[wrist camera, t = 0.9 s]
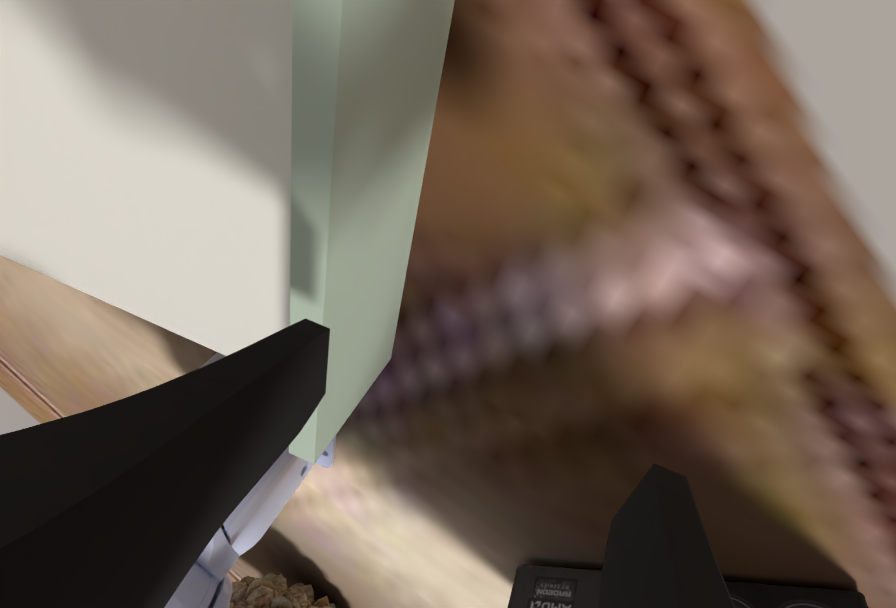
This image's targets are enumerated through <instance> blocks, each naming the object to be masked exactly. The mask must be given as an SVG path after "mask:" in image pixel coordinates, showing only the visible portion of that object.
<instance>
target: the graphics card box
mask: <svg viewBox="0 0 896 608" xmlns="http://www.w3.org/2000/svg"><path fill="white" fill-rule="evenodd" d="M601 576H602V570H596V569H587V570H585V569H579V568H578V569H572V568H562V567H549V566H540V565H529V564H523V565H519V566H518V567H517V570H516V575H515V579H514V583H513V587H512V592H511V596H510V600H509V604H508V608H599V601H600V588H601ZM724 582H725V584H726V587H727V589H728V591H729V594H730V596H731V599H732V601H733V604H734V606H735V608H868V606H867V603H866V600H865V597H864V595H863V594H862V593H860V592H849V591H844V590H832V589H822V588H803V587H790V586H776V585H765V584H759V583H752V582H728V581H724Z"/></svg>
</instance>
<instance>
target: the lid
mask: <svg viewBox="0 0 896 608" xmlns="http://www.w3.org/2000/svg"><path fill="white" fill-rule="evenodd" d="M454 2H455V0H0V255H1V256H4V257H6V258H8V259H10V260H13V261H15V262H17V263H19V264H22V265H24V266H26V267H28V268H30V269H33V270H35V271H37V272H39V273H42V274H44V275H46V276H48V277H51V278H53V279H55V280H57V281H60V282H62V283H64V284H66V285H69V286H71V287H73V288H75V289H77V290H80V291H82V292H84V293H86V294H89V295H91V296H93V297H95V298H98V299H100V300H102V301H104V302H107V303H109V304H111V305H113V306H116V307H118V308H120V309H122V310H124V311H127V312H129V313H131V314H133V315H136V316H138V317H140V318H142V319H145V320H147V321H149V322H151V323H154V324H156V325H158V326H160V327H162V328H165V329H167V330H169V331H171V332H174V333H176V334H178V335H180V336H183V337H185V338H187V339H189V340H192V341H194V342H196V343H198V344H201V345H203V346H205V347H207V348H209V349H212V350H214V351H216V352H218V353H221V354H223V355H225V356H228V355H230V354H232V353H234V352H236V351H239V350H241V349H243V348H245V347H247V346H249V345H251V344H253V343H255V342H257V341H259V340H261V339H263V338H265V337H268V336H270V335H272V334H274V333H276V332H278V331H280V330H282V329H284V328H286V327H288V326H290V325H292V324H294V323H297V322H299V321H301V320H303V319H305V318H306V319H308V320H311V321H313V322H315V323H318V324H320V325H323V326H325V327H327V328H330V338H329V352H328V366H327V380H326V393H325V395H324V397H323V398H322V400H321V401H320V403H319V404H318V406H317V408H316V409H315V411H314V412H313V414H312V415H311V417H310V418H309V420H308V421H307V423H306V424H305V426H304V427H303V429H302V430H301V432H300V433H299V434H298V435H297V436H296V438H295V439H294V440H293V441H292V442H291V444H290V445H289V453H291V454H293V455H295V456H297V457H299V458H301V459H303V460H305V461H307V462H310V463H312V464H315V463H316V462H317V460H318V459H319V457H320V456H321V455H322V453H323V452H324V450H325V449H326V448H327V446H328V445H329V444H330V442H331V441H332V439H333V438H334V437H335V435H336V434H337V432H338V431H339V430H340V428H341V427H342V426H343V424H344V423H345V421H346V420H347V419H348V417H349V416H350V414H351V413H352V412H353V410H354V409H355V408H356V406H357V405H358V403H359V402H360V401H361V399H362V398H363V396H364V395H365V394H366V392H367V391H368V390H369V388H370V387H371V385H372V384H373V383H374V381H375V380H376V378H377V377H378V376H379V374H380V373H381V372H382V370H383V369H384V367H385V366H386V365H387V363H388V362H389V361H390V359H391V356H392V350H393V345H394V339H395V333H396V328H397V322H398V316H399V311H400V305H401V300H402V294H403V288H404V283H405V277H406V272H407V266H408V260H409V255H410V249H411V243H412V238H413V232H414V227H415V221H416V215H417V210H418V204H419V199H420V193H421V187H422V182H423V176H424V170H425V165H426V159H427V154H428V148H429V142H430V137H431V131H432V126H433V120H434V114H435V109H436V103H437V97H438V92H439V86H440V81H441V75H442V69H443V64H444V58H445V53H446V47H447V41H448V36H449V30H450V25H451V19H452V13H453V8H454Z"/></svg>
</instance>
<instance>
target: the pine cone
mask: <svg viewBox="0 0 896 608" xmlns="http://www.w3.org/2000/svg"><path fill="white" fill-rule="evenodd" d="M229 608H336V607H335V604H329V601H328V598H327V596H326V597H323V598H321V599H318V600H317V601H316V602H314V591H313V588H312V585H306V586H304V584H303V583H297V584H294V585H293V586H291V587H290V586H288V584H287V581H286V578H284V577H283V576H282V573H281V574H280V575H275V574H273V573H269V574H267V575H266V576H265V577H263V578H256V579H255V578H254V577H249V576H247V577H244V578H243V579H241V581H240V582H237V581H236V582H233V583H232V595H231V600H230V607H229Z"/></svg>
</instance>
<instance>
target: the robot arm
mask: <svg viewBox="0 0 896 608" xmlns="http://www.w3.org/2000/svg"><path fill="white" fill-rule="evenodd" d="M329 338H330V328H327V327H325V326H323V325H320V324H318V323H315V322H313V321H311V320H308V319H306V318H305V319H303V320H301V321H299V322H297V323H294V324H292V325H290V326H288V327H286V328H284V329H282V330H280V331H278V332H276V333H274V334H272V335H270V336H268V337H265V338H263V339H261V340H259V341H257V342H255V343H253V344H251V345H249V346H247V347H245V348H243V349H241V350H239V351H236V352H234V353H232V354H230V355H228V356H225V355H223V354H221V353H218V352H217V353H216V354H215V355H214V356H212V357H211V358H210V359H209V360H208V361H206V362H205V363H204V364H203V365H202V366H200V367H199V368H198V369H197V370H195V371H192V372H190V373H187V374H185V375H183V376H180V377H178V378H175V379H173V380H171V381H168V382H166V383H163V384H161V385H159V386H156V387H153V388H151V389H148V390H146V391H143V392H140V393H138V394H135V395H132V396H130V397H127V398H124V399H121V400H118V401H115V402H112V403H109V404H106V405H103V406H100V407H97V408H94V409H91V410H88V411H85V412H82V413H78V414H75V415H71V416H68V417H64V418H61V419H57V420H54V421H50V422H47V423H43V424H40V425H36V426H33V427H29V428H26V429H22V430H18V431H14V432H10V433H7V434H2V435H0V608H229V607H230V600H231V595H232V582H231V579H230V578H229V577H228V576H227V575H226V574H227V572H228V571H229V570H230V568H231V567H232V566H233V564H234V563H235V562H236V560H237V559H238V558H239V556H240V555H242V554H243V553H245V552H246V551H248V550H249V549H250V548H252V547H253V546H254V545H255V544H256V543H257V542H258V541H259V540H260V539H261V538H262V536H263V535H264V534H265V532H266V531H267V529H268V528H269V527H270V525H271V524H272V522H273V521H274V520H275V518H276V517H277V516H278V514H279V513H280V511H281V510H282V509H283V507H284V506H285V504H286V503H287V502H288V500H289V499H290V498H291V496H292V495H293V493H294V492H295V491H296V489H297V488H298V486H299V485H300V484H301V482H302V481H303V480H304V478H305V477H306V475H307V474H308V473H309V471H310V470H311V468H312V467H313V466H314V464H312V463H310V462H307V461H305V460H303V459H301V458H299V457H297V456H295V455H293V454H291V453H289V445H290V444H291V442H292V441H293V440H294V439H295V438H296V436H297V435H298V434H299V433H300V432H301V430H302V429H303V427H304V426H305V424H306V423H307V421H308V420H309V418H310V417H311V415H312V414H313V412H314V411H315V409H316V408H317V406H318V404H319V403H320V401H321V400H322V398H323V397H324V395H325V393H326V380H327V366H328V352H329ZM335 444H336V435H335V437H334V438H333V439H332V441H331V442H330V444H329V445H328V446H327V448H326V449H325V450H324V452H323V453H322V455H321V456H320V457H319V459H318V460H317V462H316V464H319V465H321V466H323V467H326V468H329V467H331V466H332V464H333V462H334V454H335ZM599 608H735V606H734V604H733V601H732V599H731V596H730V594H729V591H728V589H727V587H726V584H725V582H724V579H723V577H722V574H721V571H720V569H719V566H718V563H717V561H716V558H715V556H714V553H713V550H712V547H711V545H710V542H709V539H708V536H707V534H706V531H705V528H704V525H703V522H702V520H701V517H700V514H699V511H698V508H697V505H696V503H695V500H694V497H693V494H692V491H691V488H690V486H689V483H688V481H687V478H686V477H685V476H682V475H680V474H677V473H675V472H673V471H670V470H668V469H665V468H663V467H661V466H658V465H656V464H653V466H652V467H651V468H650V470H649V471H648V472H647V474H646V475H645V476H644V478H643V479H642V480H641V482H640V483H639V484H638V486H637V487H636V488H635V490H634V491H633V492H632V494H631V495H630V497H629V498H628V499H627V501H626V502H625V503H624V505H623V506H622V507H621V509H620V510H619V511H618V513H617V514H616V515H615V517H614V518H613V519H612V522H611V527H610V532H609V537H608V542H607V546H606V552H605V557H604V562H603V568H602V576H601V588H600V601H599Z"/></svg>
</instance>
